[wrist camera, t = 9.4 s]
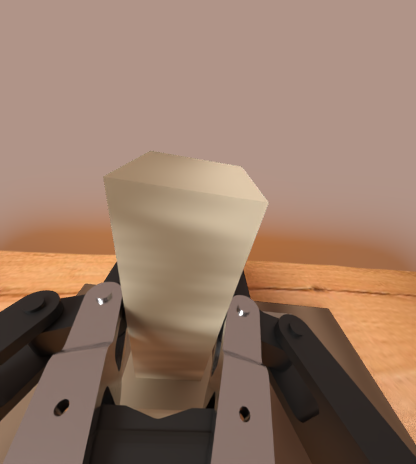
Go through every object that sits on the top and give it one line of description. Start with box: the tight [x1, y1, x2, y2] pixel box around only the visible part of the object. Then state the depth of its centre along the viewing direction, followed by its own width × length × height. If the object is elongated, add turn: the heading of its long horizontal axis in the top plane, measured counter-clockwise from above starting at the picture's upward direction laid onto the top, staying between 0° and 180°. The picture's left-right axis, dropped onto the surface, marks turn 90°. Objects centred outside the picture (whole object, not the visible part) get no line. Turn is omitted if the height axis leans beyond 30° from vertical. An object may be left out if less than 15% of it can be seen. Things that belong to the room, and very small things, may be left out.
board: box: [0, 284, 416, 464], centre depth 14 cm, size 26×12×2 cm, turn 90°
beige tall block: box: [103, 151, 268, 419], centre depth 9 cm, size 5×7×14 cm
